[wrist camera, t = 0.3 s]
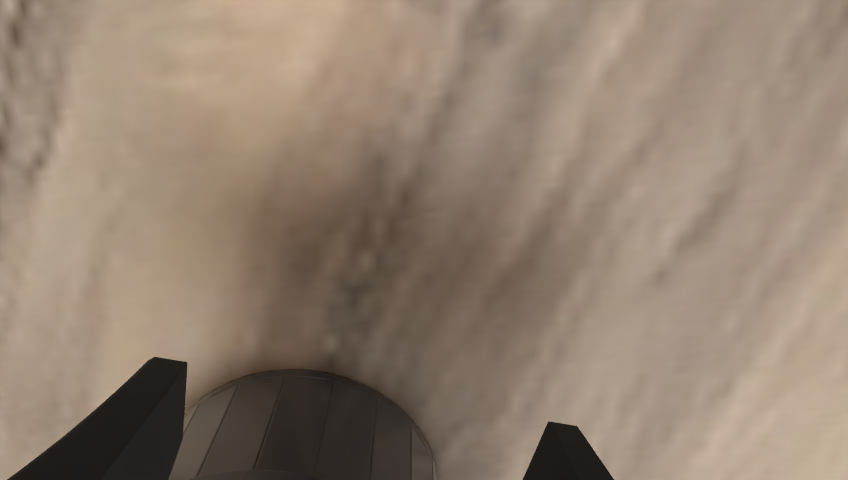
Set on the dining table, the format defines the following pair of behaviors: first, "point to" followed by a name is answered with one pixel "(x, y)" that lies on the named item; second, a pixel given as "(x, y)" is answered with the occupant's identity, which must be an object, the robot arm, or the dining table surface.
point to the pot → (302, 430)
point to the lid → (257, 475)
